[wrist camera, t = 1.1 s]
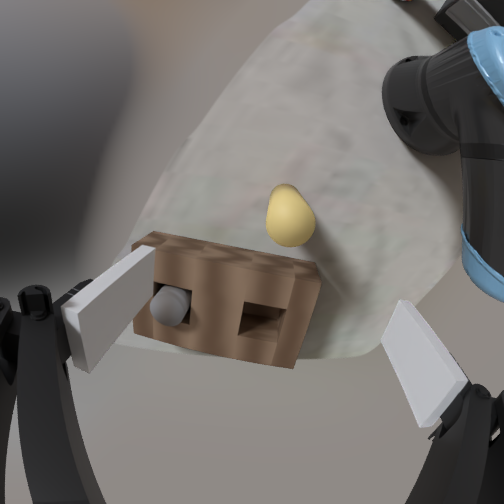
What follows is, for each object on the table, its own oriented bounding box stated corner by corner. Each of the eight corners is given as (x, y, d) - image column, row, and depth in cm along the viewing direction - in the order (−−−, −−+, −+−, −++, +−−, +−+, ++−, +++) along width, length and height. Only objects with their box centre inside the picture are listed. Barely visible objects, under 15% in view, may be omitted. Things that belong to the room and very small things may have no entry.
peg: (302, 187, 35) (320, 204, 21) (296, 216, 37) (309, 251, 23) (273, 181, 36) (271, 194, 21) (267, 210, 37) (261, 242, 23)
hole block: (314, 262, 39) (324, 290, 30) (291, 340, 43) (293, 378, 35) (153, 231, 39) (124, 250, 31) (151, 310, 44) (128, 340, 35)
